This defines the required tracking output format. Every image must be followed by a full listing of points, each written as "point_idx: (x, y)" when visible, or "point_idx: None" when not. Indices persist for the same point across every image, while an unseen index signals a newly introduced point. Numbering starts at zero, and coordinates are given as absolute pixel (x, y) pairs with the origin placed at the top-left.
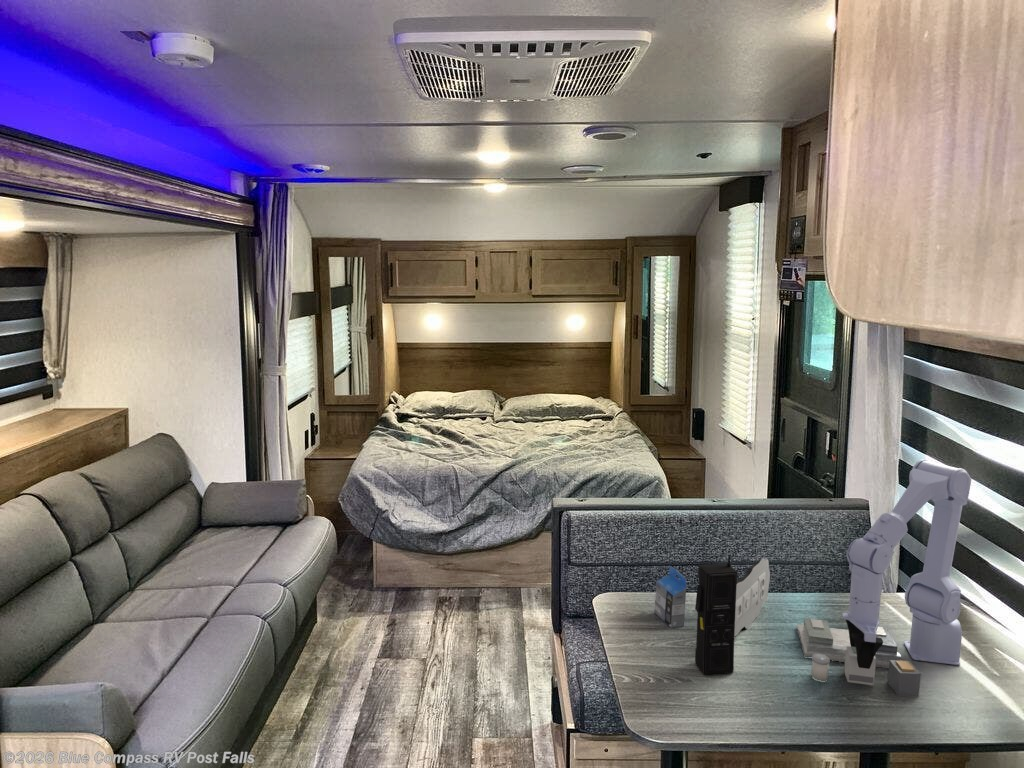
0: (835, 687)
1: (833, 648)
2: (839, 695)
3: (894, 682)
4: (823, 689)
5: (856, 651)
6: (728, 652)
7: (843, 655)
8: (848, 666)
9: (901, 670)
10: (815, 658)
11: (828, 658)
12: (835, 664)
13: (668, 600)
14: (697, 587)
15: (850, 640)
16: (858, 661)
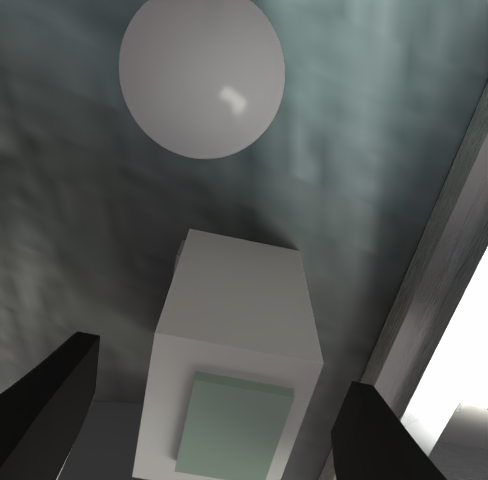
0: (114, 131)
1: (473, 276)
2: (21, 120)
3: (127, 435)
4: (72, 36)
5: (33, 411)
6: None
7: (427, 309)
8: (186, 277)
9: None
10: (183, 9)
11: (196, 150)
12: (388, 234)
13: None
14: None
15: (377, 429)
16: (48, 358)
